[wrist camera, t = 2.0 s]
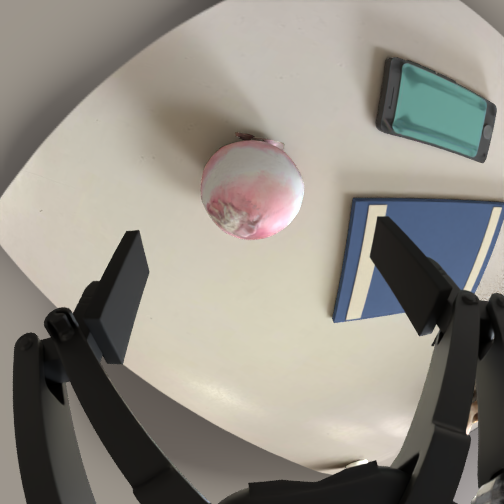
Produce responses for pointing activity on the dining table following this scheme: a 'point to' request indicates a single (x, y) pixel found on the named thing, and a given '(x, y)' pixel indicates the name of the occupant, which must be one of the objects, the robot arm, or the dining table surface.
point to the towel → (426, 239)
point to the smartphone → (434, 110)
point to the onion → (251, 188)
